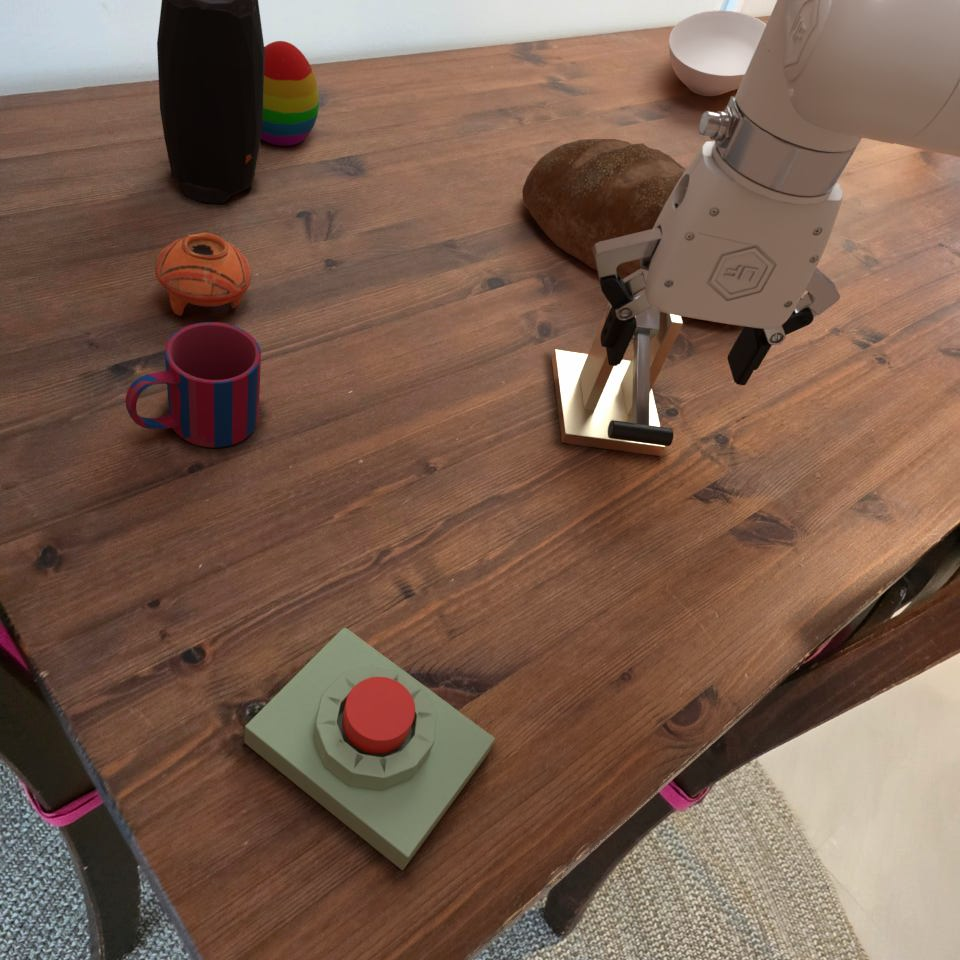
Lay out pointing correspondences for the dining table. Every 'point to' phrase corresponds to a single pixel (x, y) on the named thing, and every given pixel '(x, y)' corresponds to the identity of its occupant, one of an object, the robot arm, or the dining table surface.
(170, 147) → the portable speaker
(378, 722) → the button
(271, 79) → the decorative egg
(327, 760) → the switch box
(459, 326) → the dining table surface
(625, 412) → the switch bracket
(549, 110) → the dining table surface
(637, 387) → the switch lever
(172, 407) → the cup
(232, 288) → the pot
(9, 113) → the dining table surface
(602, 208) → the bread
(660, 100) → the dining table surface
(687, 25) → the bowl
